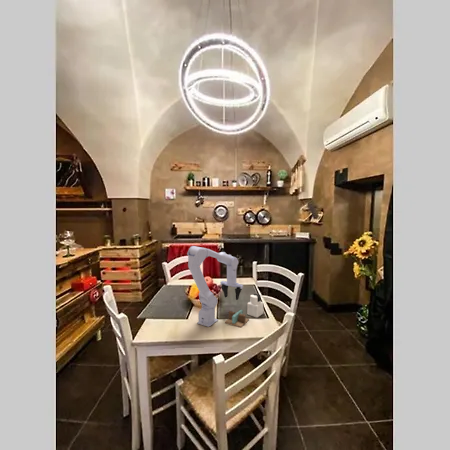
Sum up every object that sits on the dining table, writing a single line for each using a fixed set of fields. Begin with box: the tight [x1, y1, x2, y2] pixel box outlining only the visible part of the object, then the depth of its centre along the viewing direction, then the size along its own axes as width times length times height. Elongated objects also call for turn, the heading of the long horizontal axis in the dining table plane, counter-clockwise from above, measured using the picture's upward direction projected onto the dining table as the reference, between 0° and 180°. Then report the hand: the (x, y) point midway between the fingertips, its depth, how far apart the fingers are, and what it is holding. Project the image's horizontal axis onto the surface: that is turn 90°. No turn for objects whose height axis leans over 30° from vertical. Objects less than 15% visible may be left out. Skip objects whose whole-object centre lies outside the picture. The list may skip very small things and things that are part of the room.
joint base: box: [224, 310, 250, 328], centre depth 144 cm, size 10×10×5 cm
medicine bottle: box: [246, 293, 264, 318], centre depth 153 cm, size 7×7×12 cm
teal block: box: [232, 309, 244, 324], centre depth 144 cm, size 10×2×4 cm, turn 150°
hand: (231, 298), depth 154 cm, fingers open, 7 cm apart
